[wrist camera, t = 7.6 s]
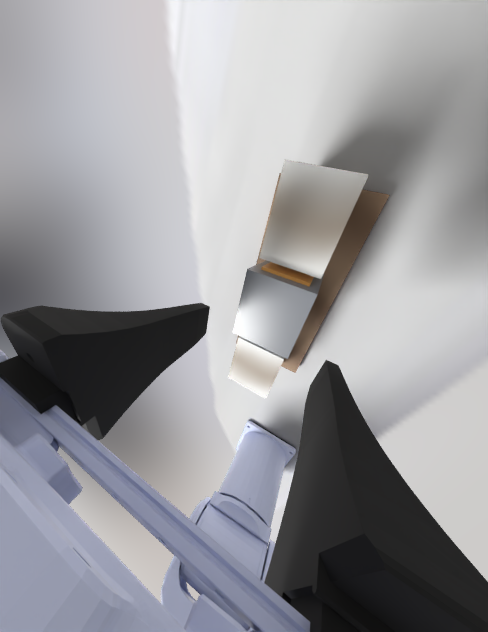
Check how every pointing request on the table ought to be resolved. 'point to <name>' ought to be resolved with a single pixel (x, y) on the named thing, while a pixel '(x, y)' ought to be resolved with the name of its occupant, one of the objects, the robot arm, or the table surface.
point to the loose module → (275, 306)
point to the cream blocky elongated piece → (309, 252)
